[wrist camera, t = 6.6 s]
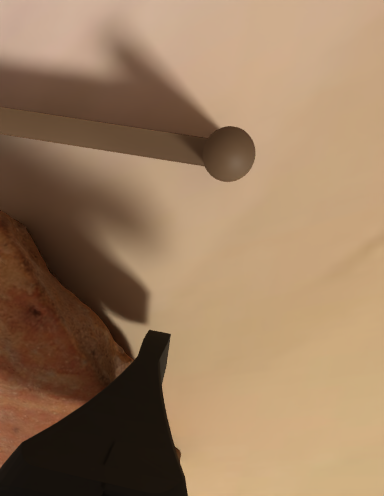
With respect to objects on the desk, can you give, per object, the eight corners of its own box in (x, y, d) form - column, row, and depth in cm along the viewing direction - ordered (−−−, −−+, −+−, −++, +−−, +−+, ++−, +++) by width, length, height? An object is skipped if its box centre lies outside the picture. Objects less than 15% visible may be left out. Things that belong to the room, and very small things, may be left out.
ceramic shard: (197, 294, 7) (165, 511, 14) (193, 209, 12) (172, 394, 20) (-433, 245, 6) (-123, 503, 13) (-130, 178, 12) (-29, 383, 19)
